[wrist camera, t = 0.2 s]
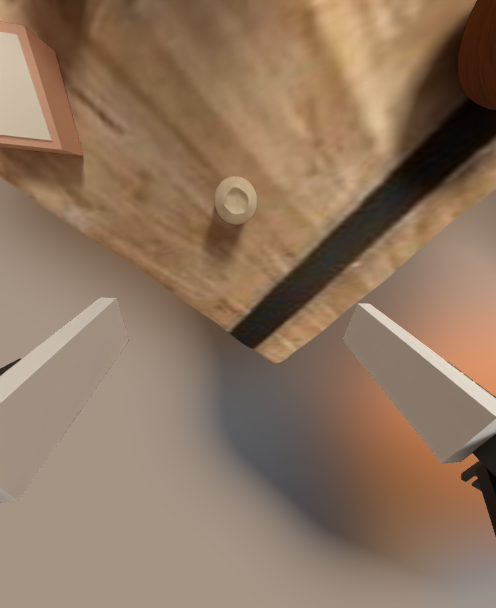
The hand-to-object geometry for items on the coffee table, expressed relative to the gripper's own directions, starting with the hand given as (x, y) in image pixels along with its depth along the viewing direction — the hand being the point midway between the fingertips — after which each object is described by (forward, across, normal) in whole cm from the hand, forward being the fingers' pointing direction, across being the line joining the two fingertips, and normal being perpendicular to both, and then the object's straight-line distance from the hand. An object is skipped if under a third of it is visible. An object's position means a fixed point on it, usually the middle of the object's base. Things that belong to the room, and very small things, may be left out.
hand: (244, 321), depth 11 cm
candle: (+28, 0, +6) cm, 28 cm away
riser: (+28, -27, +15) cm, 41 cm away
